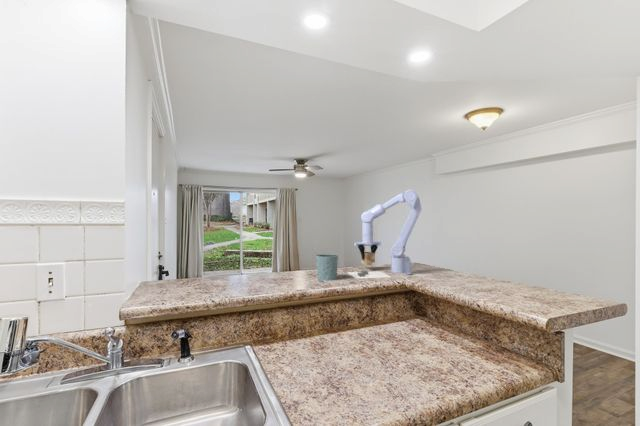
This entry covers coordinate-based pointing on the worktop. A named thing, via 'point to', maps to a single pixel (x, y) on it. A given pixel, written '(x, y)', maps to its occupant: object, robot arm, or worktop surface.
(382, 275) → the board
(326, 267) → the teal pot
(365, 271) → the mark
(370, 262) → the sanding block
